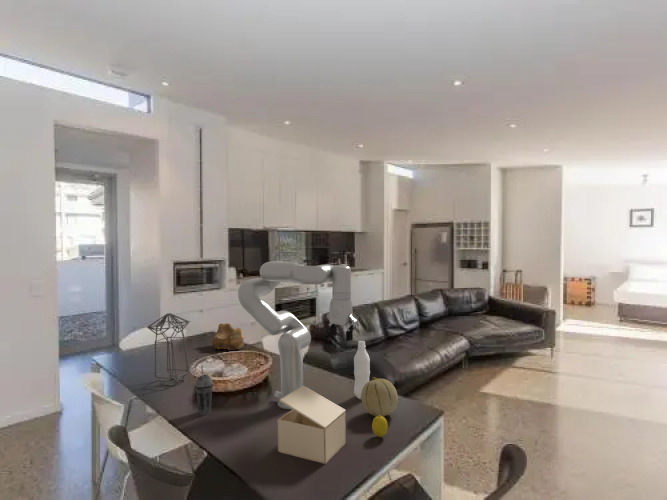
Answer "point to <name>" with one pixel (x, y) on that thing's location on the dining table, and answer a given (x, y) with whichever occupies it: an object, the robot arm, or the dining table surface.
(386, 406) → the cantaloupe
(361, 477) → the dining table surface
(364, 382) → the water bottle
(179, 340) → the geometric lantern
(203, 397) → the beverage cup
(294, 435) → the carton
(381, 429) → the lemon
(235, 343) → the rough brown rock
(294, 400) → the carton lid
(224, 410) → the dining table surface
